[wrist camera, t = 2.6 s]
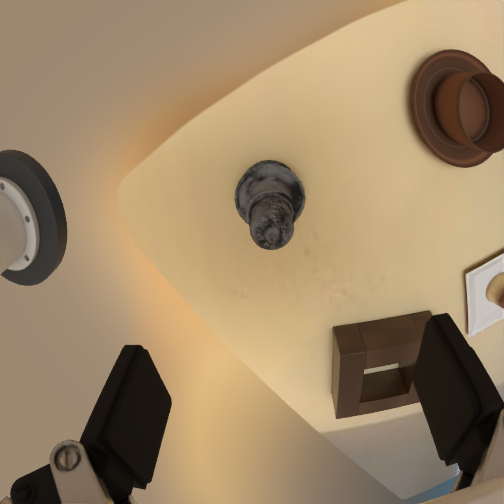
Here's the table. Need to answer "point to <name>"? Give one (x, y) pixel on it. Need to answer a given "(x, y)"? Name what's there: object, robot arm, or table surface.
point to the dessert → (485, 295)
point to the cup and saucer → (459, 108)
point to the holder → (376, 364)
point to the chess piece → (270, 203)
